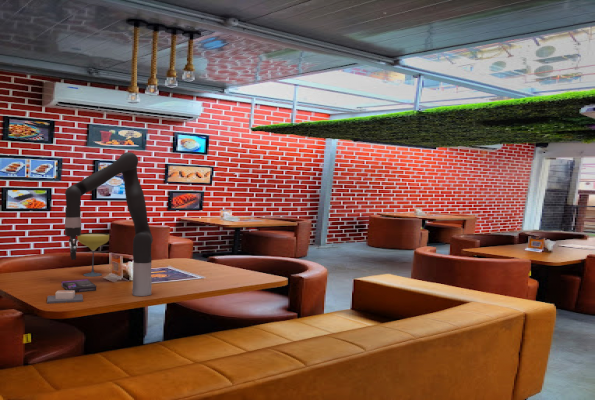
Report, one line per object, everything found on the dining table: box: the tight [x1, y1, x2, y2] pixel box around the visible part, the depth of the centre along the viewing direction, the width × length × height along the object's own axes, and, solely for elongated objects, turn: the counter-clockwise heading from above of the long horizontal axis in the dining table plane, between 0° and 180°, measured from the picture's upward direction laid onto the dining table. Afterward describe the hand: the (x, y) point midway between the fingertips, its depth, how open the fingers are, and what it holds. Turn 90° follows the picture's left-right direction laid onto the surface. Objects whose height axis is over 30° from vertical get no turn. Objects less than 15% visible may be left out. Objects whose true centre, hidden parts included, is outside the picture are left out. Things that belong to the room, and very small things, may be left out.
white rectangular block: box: [55, 290, 76, 299], centre depth 264 cm, size 8×5×3 cm, turn 103°
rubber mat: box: [46, 293, 84, 304], centre depth 264 cm, size 16×12×1 cm
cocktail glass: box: [77, 232, 110, 278], centre depth 326 cm, size 18×18×25 cm
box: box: [60, 278, 97, 294], centre depth 289 cm, size 14×4×20 cm
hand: (73, 258), depth 268 cm, fingers open, 8 cm apart
